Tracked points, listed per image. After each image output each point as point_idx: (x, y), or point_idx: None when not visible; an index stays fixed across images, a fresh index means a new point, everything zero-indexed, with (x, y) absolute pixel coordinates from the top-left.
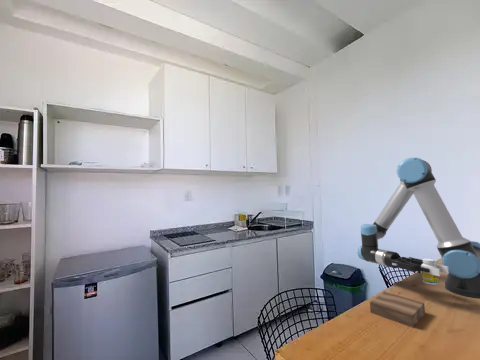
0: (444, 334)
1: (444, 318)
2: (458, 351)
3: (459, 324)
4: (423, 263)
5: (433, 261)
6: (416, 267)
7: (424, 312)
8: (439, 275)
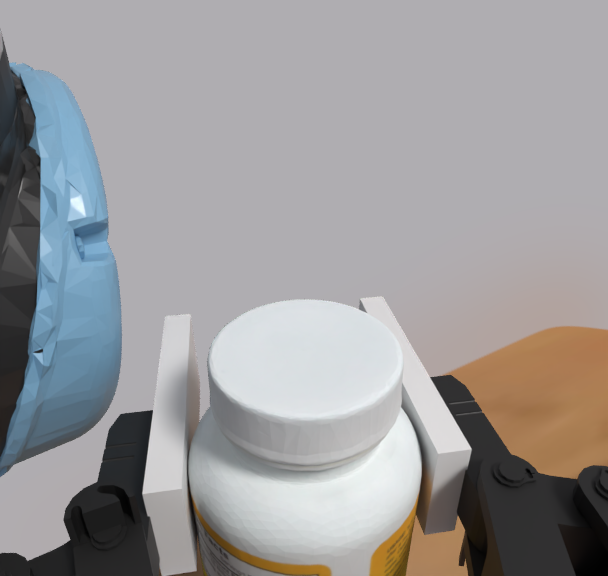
0: (585, 401)
1: None
2: (603, 340)
3: None
4: (342, 486)
5: (300, 310)
6: (569, 481)
7: None
8: None
